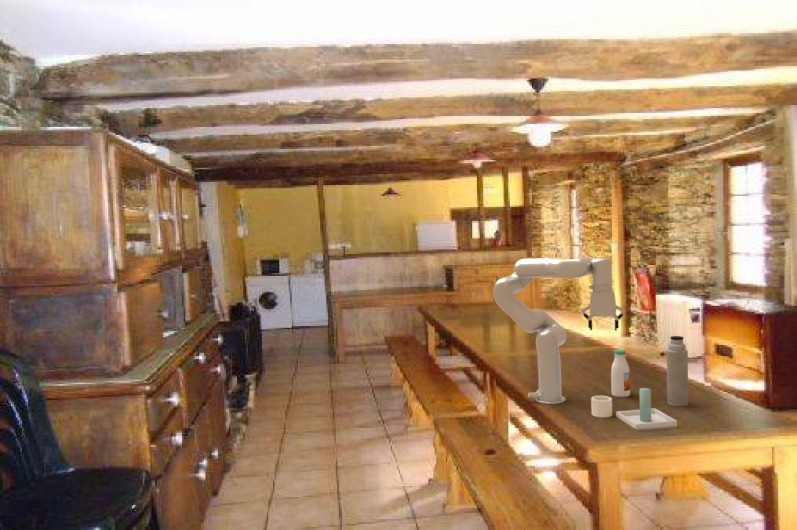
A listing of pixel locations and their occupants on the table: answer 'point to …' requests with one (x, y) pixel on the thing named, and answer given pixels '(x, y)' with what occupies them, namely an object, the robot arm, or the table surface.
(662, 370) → the table surface
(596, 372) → the table surface
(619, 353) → the milk bottle
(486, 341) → the table surface
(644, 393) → the peg
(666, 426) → the tray
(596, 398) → the cup
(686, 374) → the thermos bottle
